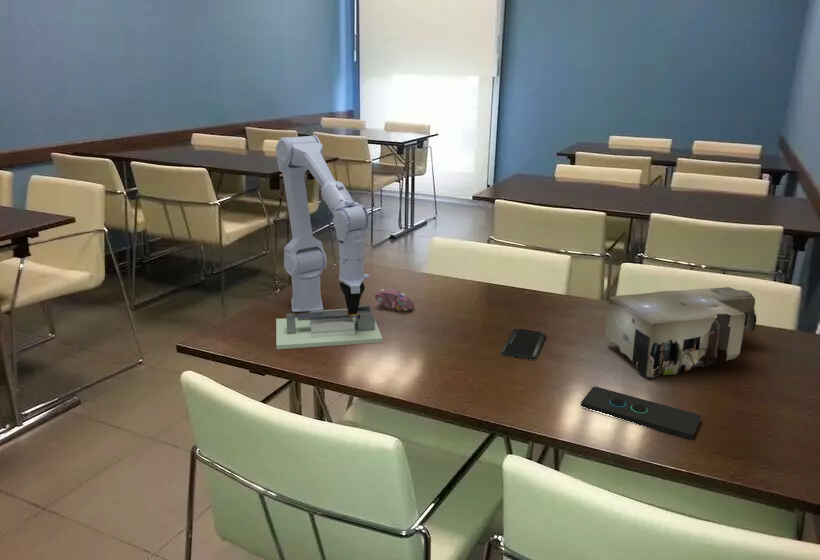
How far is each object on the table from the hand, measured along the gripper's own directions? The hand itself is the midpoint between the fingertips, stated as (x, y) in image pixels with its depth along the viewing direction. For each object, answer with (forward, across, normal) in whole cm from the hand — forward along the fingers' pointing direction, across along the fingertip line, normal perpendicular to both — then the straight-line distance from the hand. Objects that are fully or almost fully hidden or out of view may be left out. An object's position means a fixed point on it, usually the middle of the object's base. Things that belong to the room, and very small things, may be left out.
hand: (352, 312), depth 153 cm
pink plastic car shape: (+5, +13, -12) cm, 19 cm away
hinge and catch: (+4, 0, +5) cm, 7 cm away
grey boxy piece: (+6, -24, -70) cm, 75 cm away
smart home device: (+6, -48, -48) cm, 68 cm away
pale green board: (+5, 0, +6) cm, 8 cm away
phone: (+6, -15, -38) cm, 41 cm away
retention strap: (+1, 0, +5) cm, 5 cm away
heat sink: (+4, 0, +5) cm, 6 cm away
